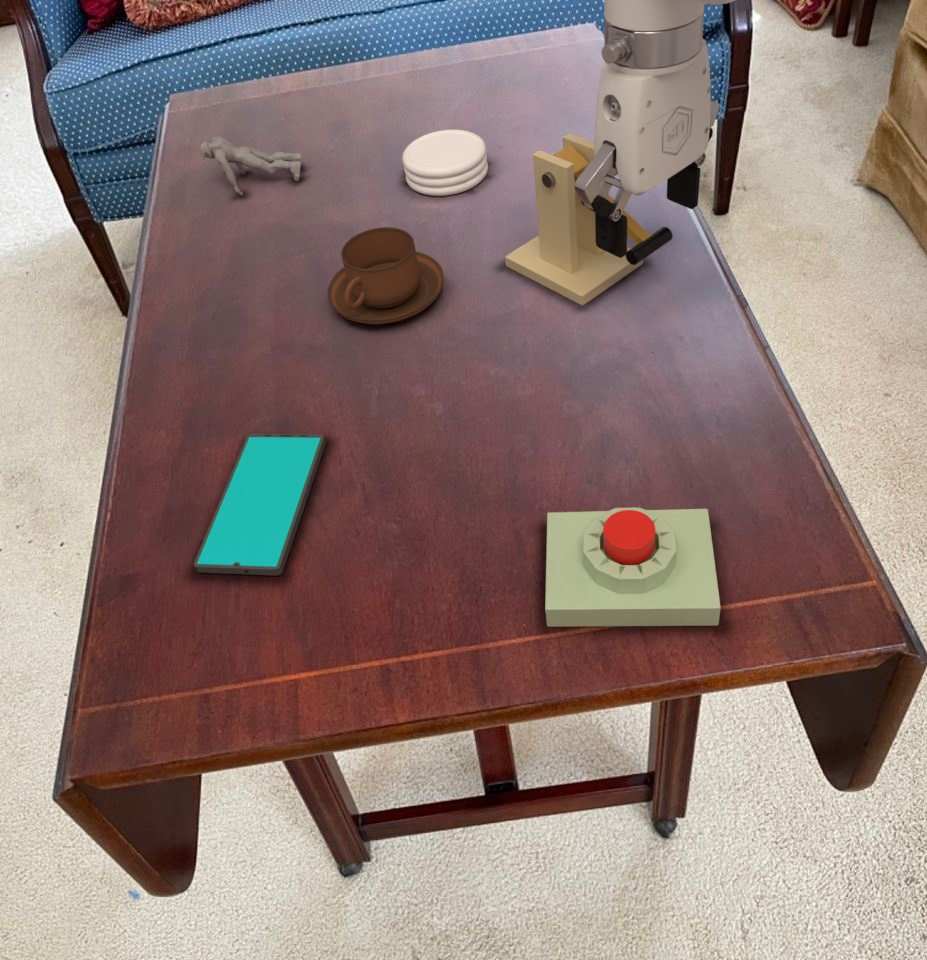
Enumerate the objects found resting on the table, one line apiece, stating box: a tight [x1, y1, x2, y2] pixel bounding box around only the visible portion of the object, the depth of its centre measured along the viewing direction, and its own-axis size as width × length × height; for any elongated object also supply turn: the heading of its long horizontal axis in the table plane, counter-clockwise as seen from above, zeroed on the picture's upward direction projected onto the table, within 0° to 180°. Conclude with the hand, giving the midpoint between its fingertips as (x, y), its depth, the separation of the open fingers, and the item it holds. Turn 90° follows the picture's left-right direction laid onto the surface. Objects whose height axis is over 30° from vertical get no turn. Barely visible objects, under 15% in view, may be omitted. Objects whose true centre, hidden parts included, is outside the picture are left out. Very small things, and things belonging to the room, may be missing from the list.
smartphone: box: [193, 432, 327, 577], centre depth 79 cm, size 7×1×15 cm
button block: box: [544, 506, 721, 628], centre depth 68 cm, size 12×9×4 cm
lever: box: [553, 145, 674, 265], centre depth 88 cm, size 13×5×2 cm, turn 42°
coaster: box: [401, 129, 489, 197], centre depth 111 cm, size 10×10×4 cm
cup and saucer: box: [327, 226, 445, 325], centre depth 95 cm, size 12×12×6 cm
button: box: [603, 510, 655, 564], centre depth 66 cm, size 4×4×2 cm
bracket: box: [504, 132, 644, 306], centre depth 92 cm, size 11×9×13 cm
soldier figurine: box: [199, 135, 302, 197], centre depth 116 cm, size 6×5×12 cm
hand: (647, 226), depth 86 cm, fingers open, 9 cm apart
